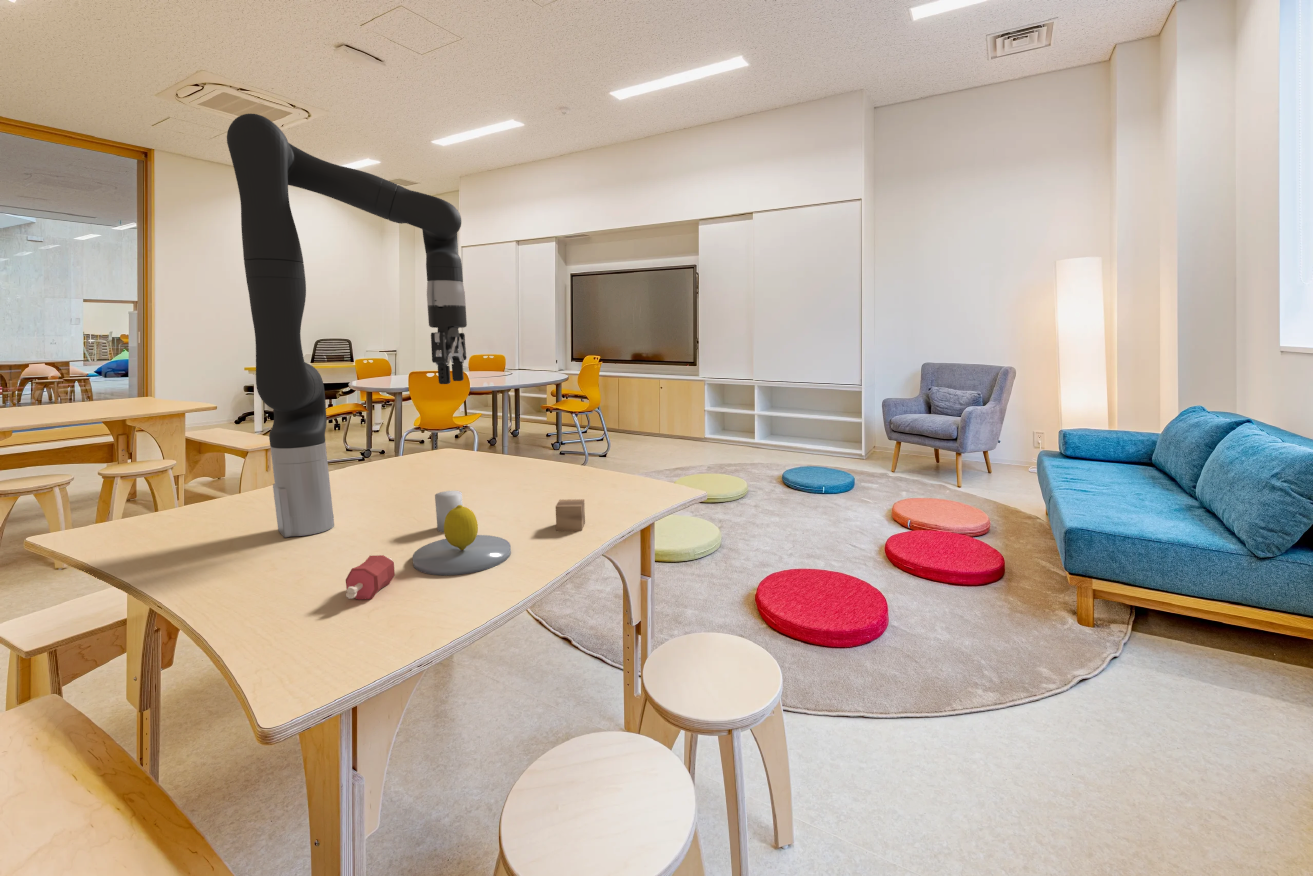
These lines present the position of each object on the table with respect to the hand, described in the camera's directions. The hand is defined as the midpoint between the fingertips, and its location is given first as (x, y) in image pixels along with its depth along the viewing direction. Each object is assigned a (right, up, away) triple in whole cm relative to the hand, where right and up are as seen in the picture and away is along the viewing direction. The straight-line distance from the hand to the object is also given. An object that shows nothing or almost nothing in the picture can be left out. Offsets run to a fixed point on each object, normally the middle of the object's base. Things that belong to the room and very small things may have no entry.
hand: (451, 382), depth 125 cm
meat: (+1, -35, -37) cm, 51 cm away
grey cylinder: (+3, -30, -8) cm, 31 cm away
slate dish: (+10, -32, -24) cm, 41 cm away
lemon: (+10, -31, -24) cm, 41 cm away
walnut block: (+27, -30, -8) cm, 41 cm away
